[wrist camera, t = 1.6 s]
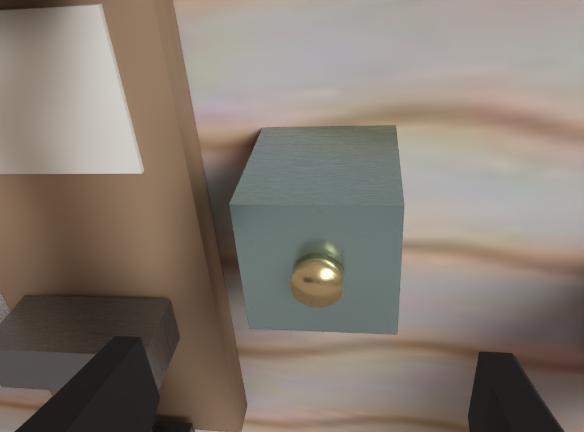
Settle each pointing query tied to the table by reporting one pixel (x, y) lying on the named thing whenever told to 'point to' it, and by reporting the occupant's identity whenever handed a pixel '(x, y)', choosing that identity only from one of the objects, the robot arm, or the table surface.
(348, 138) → the block
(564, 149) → the table surface
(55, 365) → the ram
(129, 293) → the press bed
